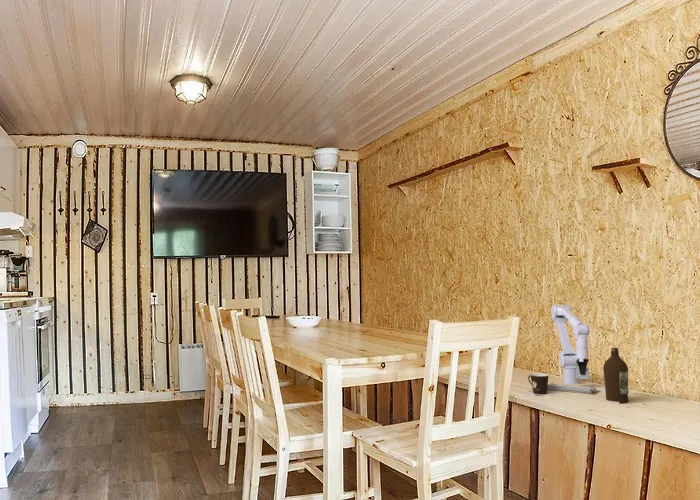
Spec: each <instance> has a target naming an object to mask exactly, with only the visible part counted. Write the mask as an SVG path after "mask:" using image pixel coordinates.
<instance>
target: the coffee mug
mask: <svg viewBox="0 0 700 500" xmlns="http://www.w3.org/2000/svg"><path fill="white" fill-rule="evenodd" d="M527 380H528V383H529V384H530V385H531V386H532V393H533V395H534V396H536V397H540V396H545V395H547V394H548V390H547V387H548V384H549V374H547V373H536V372H535V373H530V375H528V377H527Z"/></svg>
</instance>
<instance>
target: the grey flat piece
mask: <svg viewBox="0 0 700 500" xmlns="http://www.w3.org/2000/svg"><path fill="white" fill-rule="evenodd" d="M550 390H555V391H554V392H560V391H565V392H564V393H570V392H575V393H574V394H580V393H585V394H584V395H590V394H593V393H594V392H595V391H597V386H595V385H593V386H591V387H590V386H581V385H573V384H560V383H559V384H558V383H554V382H553V381H551V382H550V383H549V382H548V387H547V391H550Z"/></svg>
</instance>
